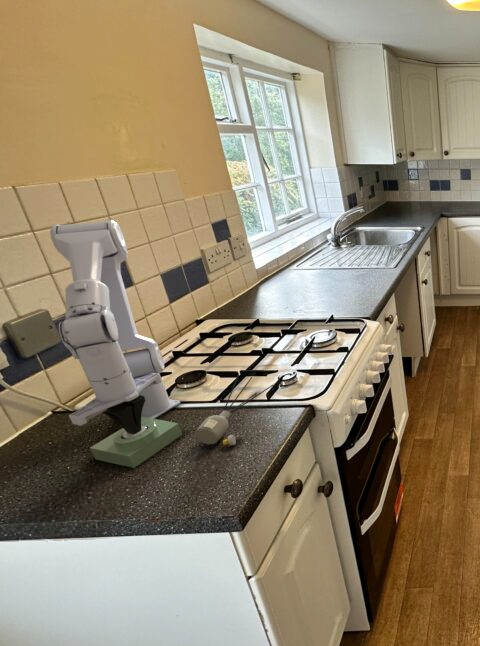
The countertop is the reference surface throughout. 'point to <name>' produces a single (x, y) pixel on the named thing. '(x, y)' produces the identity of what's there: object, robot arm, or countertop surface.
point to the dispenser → (136, 443)
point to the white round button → (129, 436)
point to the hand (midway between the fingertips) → (134, 431)
